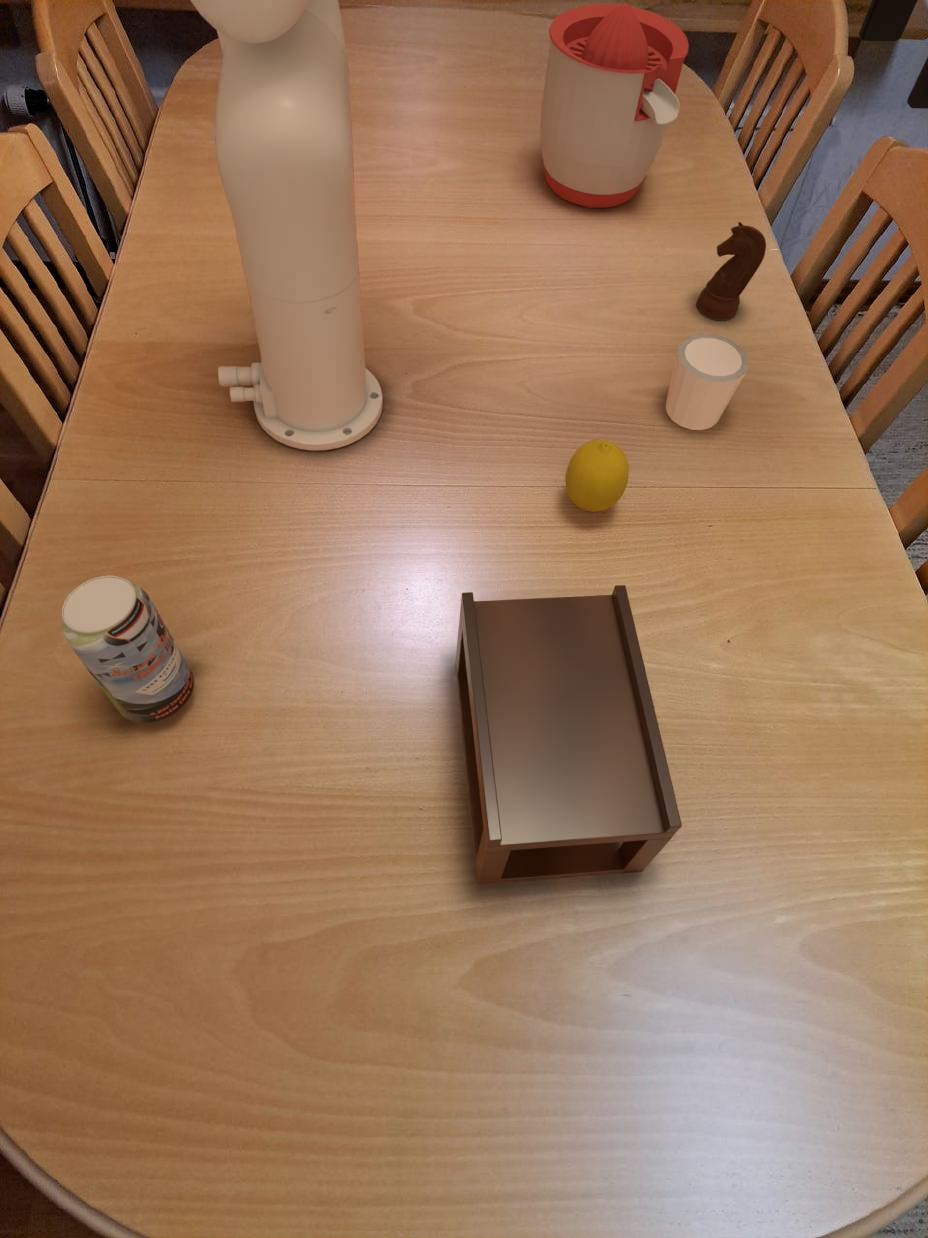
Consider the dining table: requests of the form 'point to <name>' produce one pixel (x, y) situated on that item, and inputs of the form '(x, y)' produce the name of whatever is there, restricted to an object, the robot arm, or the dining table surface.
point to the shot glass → (704, 380)
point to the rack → (560, 739)
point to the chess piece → (732, 273)
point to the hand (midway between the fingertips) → (902, 71)
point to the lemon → (597, 475)
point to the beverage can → (127, 648)
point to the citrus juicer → (607, 100)
